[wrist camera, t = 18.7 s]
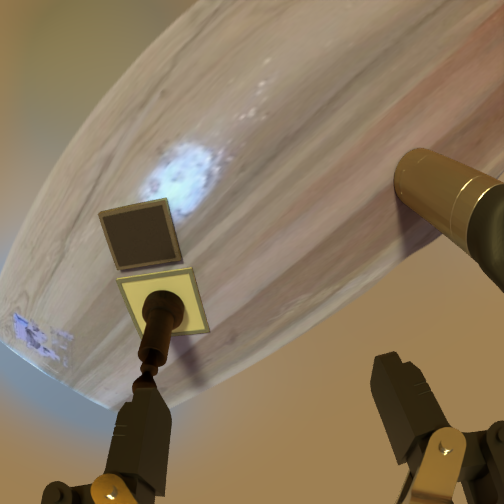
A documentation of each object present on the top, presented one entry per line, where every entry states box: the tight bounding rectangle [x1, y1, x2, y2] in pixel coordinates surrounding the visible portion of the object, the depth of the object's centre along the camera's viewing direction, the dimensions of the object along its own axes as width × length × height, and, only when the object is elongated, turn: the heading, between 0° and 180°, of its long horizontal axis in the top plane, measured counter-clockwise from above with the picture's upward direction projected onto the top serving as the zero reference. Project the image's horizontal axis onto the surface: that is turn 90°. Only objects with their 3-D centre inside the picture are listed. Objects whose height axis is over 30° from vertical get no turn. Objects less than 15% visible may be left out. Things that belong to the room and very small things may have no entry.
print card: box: [116, 267, 210, 339], centre depth 48 cm, size 12×12×1 cm
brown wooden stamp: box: [132, 290, 185, 394], centre depth 40 cm, size 7×6×18 cm
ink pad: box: [98, 198, 182, 270], centre depth 42 cm, size 10×9×1 cm
